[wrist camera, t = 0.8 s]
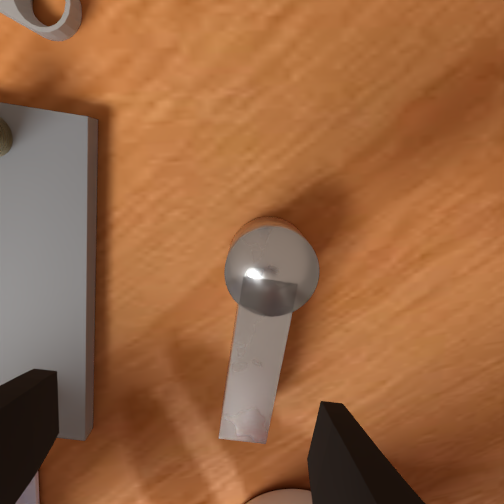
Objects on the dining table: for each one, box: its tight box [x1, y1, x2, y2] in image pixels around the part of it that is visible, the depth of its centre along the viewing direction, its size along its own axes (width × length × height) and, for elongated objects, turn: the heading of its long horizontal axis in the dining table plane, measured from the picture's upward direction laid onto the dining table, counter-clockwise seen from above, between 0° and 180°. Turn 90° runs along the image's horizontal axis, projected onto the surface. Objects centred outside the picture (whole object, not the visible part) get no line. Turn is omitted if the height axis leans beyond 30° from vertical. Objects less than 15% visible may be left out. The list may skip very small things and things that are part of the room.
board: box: [0, 103, 98, 441], centre depth 17 cm, size 19×9×1 cm, turn 171°
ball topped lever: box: [219, 217, 319, 444], centre depth 17 cm, size 12×4×3 cm, turn 171°
